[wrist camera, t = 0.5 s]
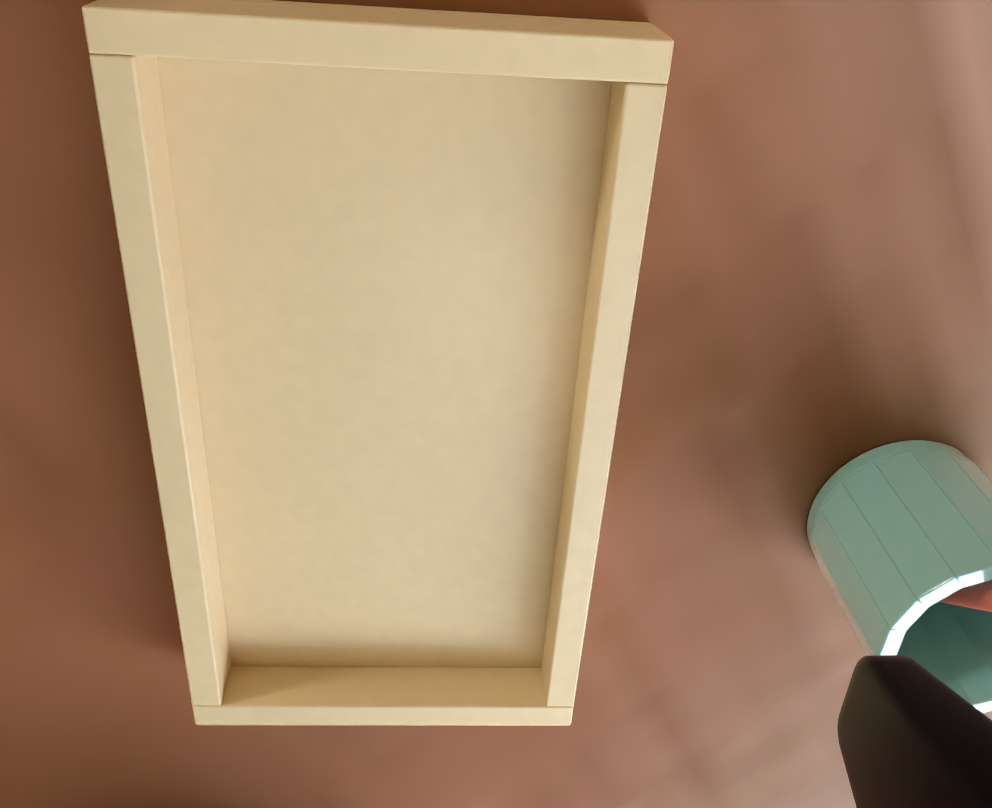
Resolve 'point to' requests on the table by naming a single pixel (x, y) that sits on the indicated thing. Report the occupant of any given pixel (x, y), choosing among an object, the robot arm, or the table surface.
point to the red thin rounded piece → (973, 597)
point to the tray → (379, 339)
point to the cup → (911, 557)
